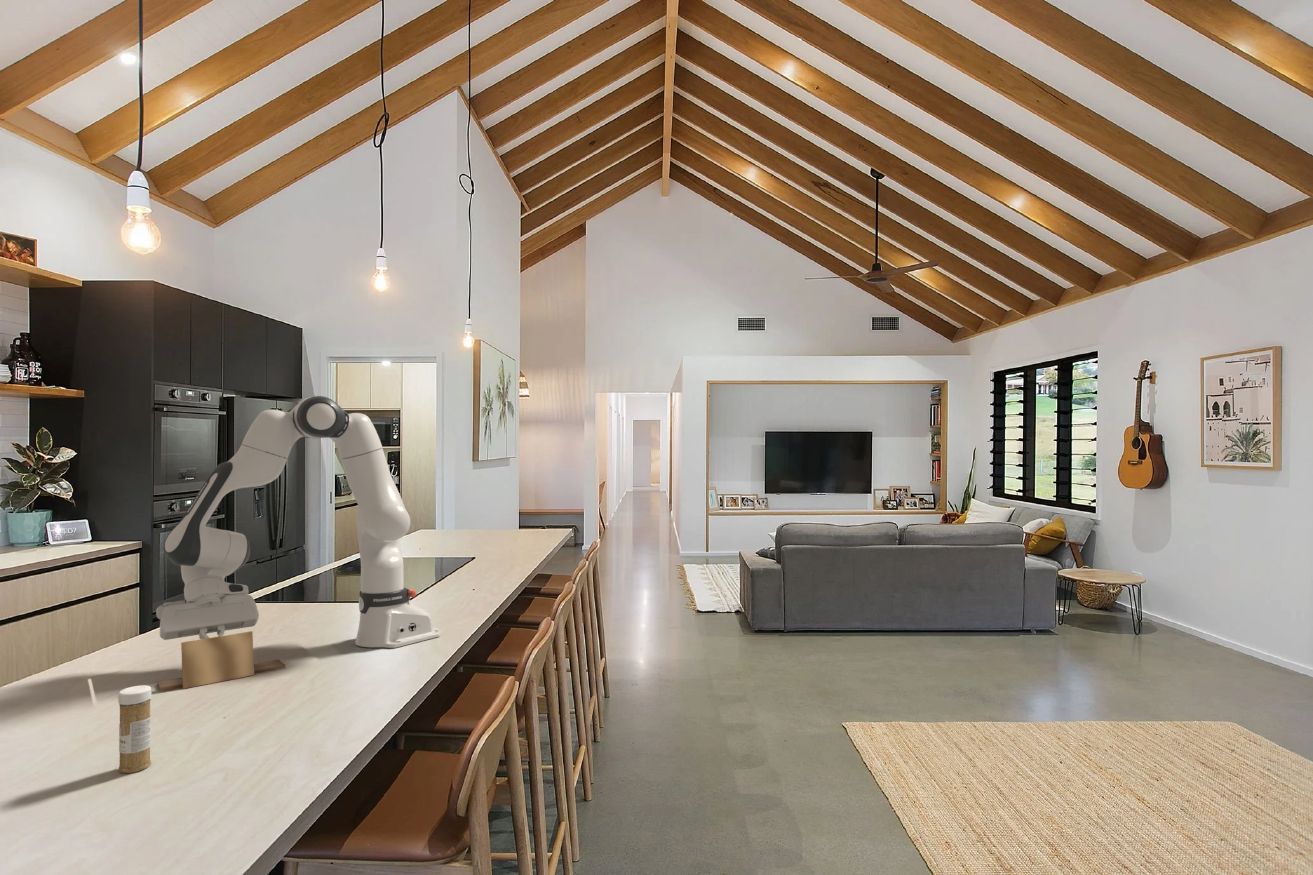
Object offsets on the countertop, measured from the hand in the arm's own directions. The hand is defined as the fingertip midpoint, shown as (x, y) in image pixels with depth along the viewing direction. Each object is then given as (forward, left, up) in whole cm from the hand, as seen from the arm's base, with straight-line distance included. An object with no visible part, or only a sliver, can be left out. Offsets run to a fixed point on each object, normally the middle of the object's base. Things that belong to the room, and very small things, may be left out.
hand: (214, 646), depth 169 cm
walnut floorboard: (-2, +2, -7) cm, 8 cm away
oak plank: (0, +6, -2) cm, 6 cm away
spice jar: (+19, +46, -8) cm, 50 cm away
